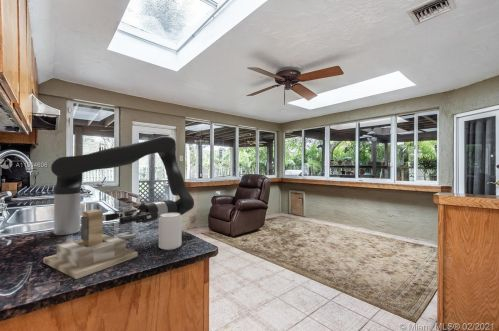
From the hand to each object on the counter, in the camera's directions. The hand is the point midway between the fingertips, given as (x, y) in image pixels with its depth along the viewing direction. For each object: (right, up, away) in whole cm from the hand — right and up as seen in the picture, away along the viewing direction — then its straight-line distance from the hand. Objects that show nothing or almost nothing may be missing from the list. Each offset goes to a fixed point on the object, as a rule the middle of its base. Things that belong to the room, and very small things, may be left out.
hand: (112, 219), depth 81 cm
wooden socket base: (-3, -11, -5) cm, 13 cm away
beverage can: (+17, -12, +7) cm, 22 cm away
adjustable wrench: (-10, -12, +11) cm, 19 cm away
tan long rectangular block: (-3, -10, -5) cm, 12 cm away
